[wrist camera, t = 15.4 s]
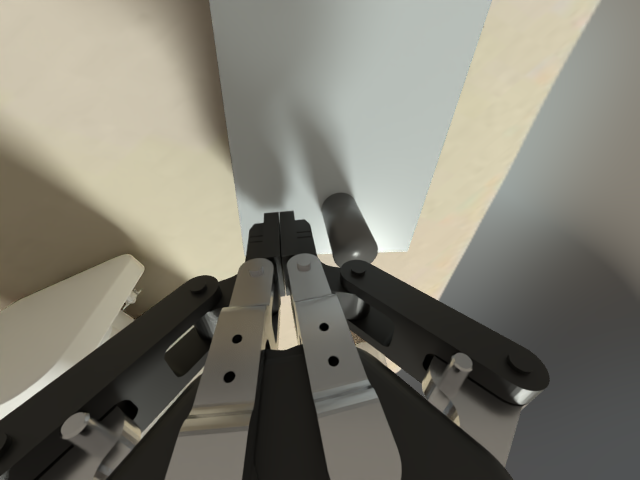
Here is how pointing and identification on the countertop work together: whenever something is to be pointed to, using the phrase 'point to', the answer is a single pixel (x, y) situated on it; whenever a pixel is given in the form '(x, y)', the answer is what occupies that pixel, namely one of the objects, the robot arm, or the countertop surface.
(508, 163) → the countertop surface
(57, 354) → the cable organizer
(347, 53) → the cover
